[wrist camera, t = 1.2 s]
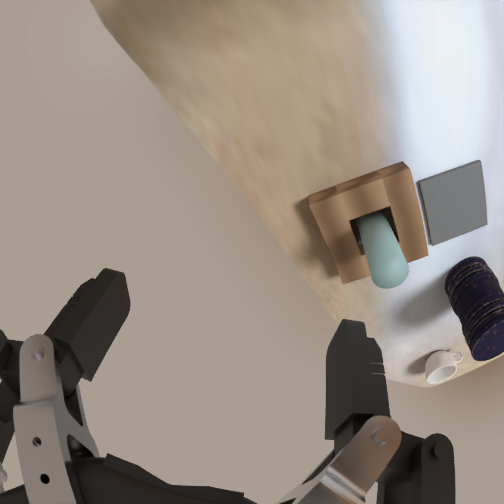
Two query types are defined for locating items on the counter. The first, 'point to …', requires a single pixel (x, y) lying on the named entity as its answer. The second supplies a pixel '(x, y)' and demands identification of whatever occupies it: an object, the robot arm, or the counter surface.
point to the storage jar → (478, 306)
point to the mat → (454, 202)
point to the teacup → (441, 366)
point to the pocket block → (364, 202)
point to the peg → (382, 250)
